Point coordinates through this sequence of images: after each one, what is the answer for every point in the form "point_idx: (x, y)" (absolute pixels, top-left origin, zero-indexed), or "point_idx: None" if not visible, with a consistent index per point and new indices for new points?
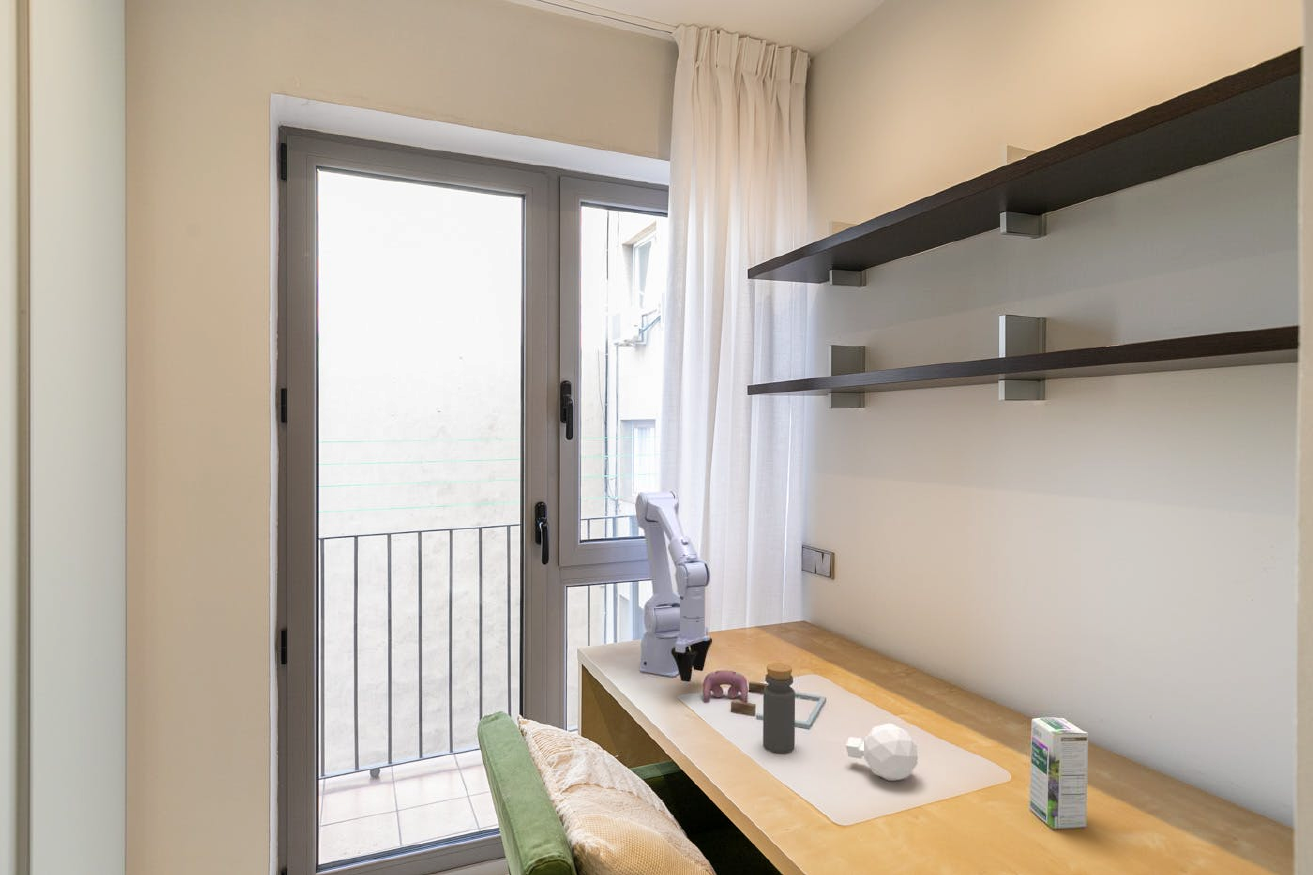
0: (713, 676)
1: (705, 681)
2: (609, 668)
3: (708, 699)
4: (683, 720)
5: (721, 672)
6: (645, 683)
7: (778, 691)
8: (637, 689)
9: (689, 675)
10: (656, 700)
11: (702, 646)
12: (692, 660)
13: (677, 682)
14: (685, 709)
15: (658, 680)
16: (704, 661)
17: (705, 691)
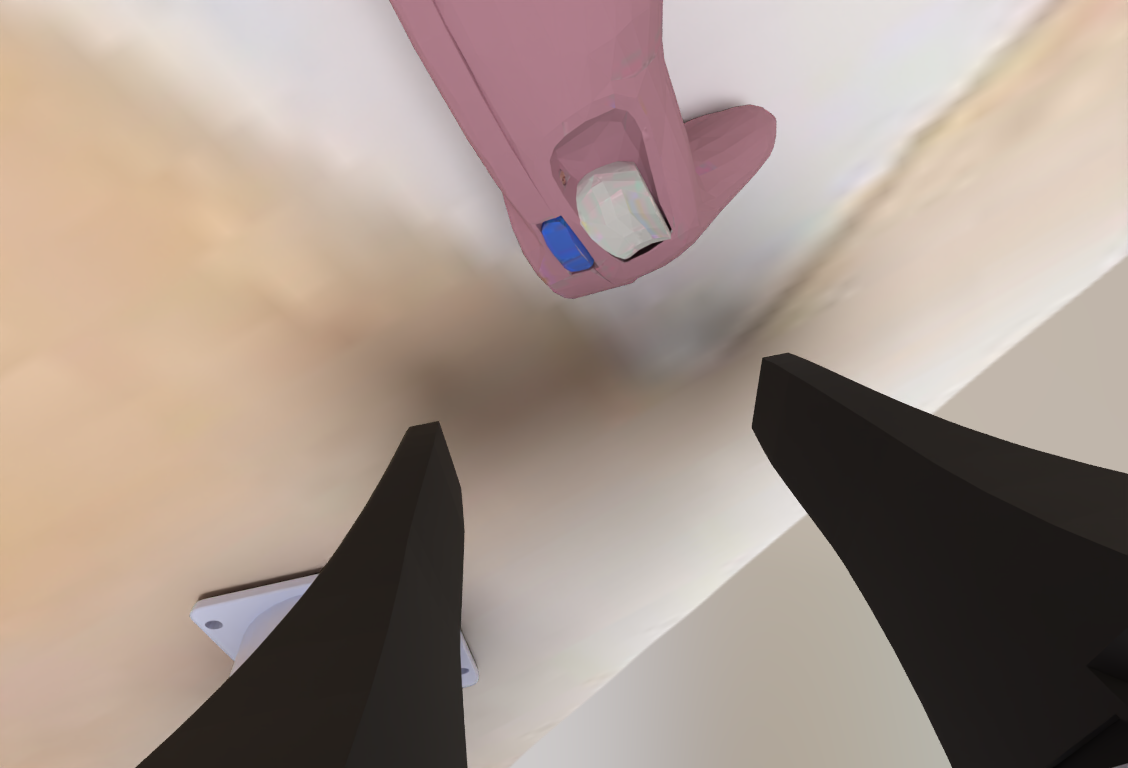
0: (684, 155)
1: (704, 229)
2: (523, 730)
3: (718, 112)
4: (1120, 95)
5: (625, 38)
6: (599, 580)
7: None
8: (693, 558)
9: (846, 384)
10: None
11: (410, 737)
12: (1090, 480)
13: (476, 496)
14: (913, 197)
15: (520, 570)
16: (406, 487)
17: (766, 155)
